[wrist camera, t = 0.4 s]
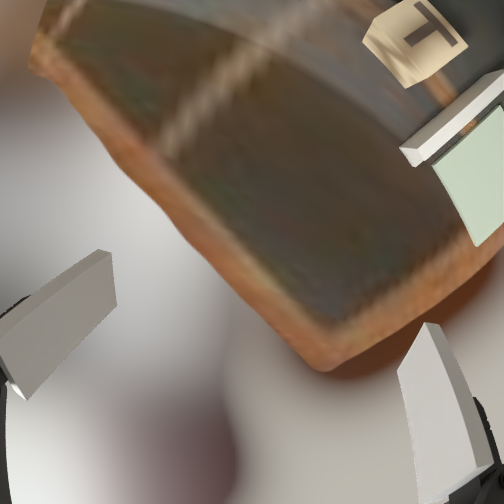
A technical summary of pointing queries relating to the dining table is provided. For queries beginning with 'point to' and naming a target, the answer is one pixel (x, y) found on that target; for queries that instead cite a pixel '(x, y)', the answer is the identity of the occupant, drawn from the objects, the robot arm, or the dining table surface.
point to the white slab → (453, 118)
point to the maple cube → (413, 41)
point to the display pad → (477, 175)
